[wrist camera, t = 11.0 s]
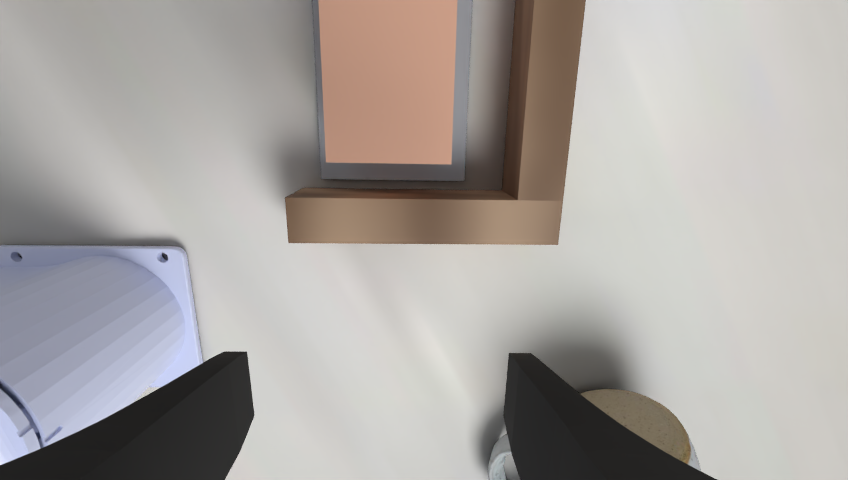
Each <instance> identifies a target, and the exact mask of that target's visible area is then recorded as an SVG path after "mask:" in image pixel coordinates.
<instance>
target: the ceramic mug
mask: <svg viewBox="0 0 848 480" xmlns="http://www.w3.org/2000/svg"><path fill="white" fill-rule="evenodd" d="M580 394H581V395H582V396H583V397H585V398H586V399H587V400H589V401H590V402H591V403H592V404H594V405H595V406H596V407H598V408H599V409H600V410H602V411H603V412H605V413H606V414H607V415H609V416H610V417H612V418H613V419H614V420H616V421H617V422H619V423H620V424H621V425H623V426H624V427H626V428H627V429H629V430H630V431H632V432H634V433H635V434H637V435H638V436H640V437H642V438H643V439H645V440H646V441H648V442H650V443H651V444H653V445H654V446H656V447H658V448H659V449H661V450H663V451H664V452H666V453H668V454H670V455H671V456H673V457H675V458H677V459H679V460H680V461H682V462H684V463H686V464H688V465H690V466H692V467H694V468H695V469H697V470H699V471H701V469H700V465H699V461H698V458H697V455H696V452H695V449H694V447H693V445H692V443H691V440H690V438H689V436H688V434H687V432H686V430H685V429H684V427H683V426H682V424H681V423H680V421H679V420H678V419H677V417H676V416H675V415H674V414H673V413H672V412H670V411H669V410H668V409H667V408H666V407H664V406H663V405H661V404H660V403H658V402H656V401H654V400H652V399H650V398H648V397H646V396H643V395H641V394H638V393H634V392H631V391H625V390H617V389H599V390H592V391H587V392H583V393H580ZM509 454H511V449H510V444H509V440H508V435H507V434H506V435H504V436H502V437H501V438H500V439H499V440H498V441H497V442H496V444H495V445H494V448H493V450H492V453H491V457H490V461H489V465H488V478H489V480H507V479H506V476H505V471H504V467H503V464H504V462H505V456H506V455H509Z"/></svg>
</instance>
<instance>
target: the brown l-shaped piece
mask: <svg viewBox="0 0 848 480" xmlns="http://www.w3.org/2000/svg"><path fill="white" fill-rule="evenodd" d="M585 1H586V0H515V13H514V27H513V41H512V55H511V69H510V83H509V97H508V111H507V126H506V140H505V154H504V168H503V182H502V190H434V189H354V188H302V189H300V190H298V191H296V192H295V193H293V194H291V195H289V196H287V197H285V203H286V216H287V229H288V242H289V243H372V244H525V245H558V240H559V231H560V222H561V213H562V204H563V195H564V187H565V178H566V169H567V160H568V151H569V143H570V134H571V125H572V116H573V107H574V98H575V90H576V81H577V72H578V63H579V54H580V46H581V37H582V28H583V19H584V10H585Z"/></svg>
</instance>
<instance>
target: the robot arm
mask: <svg viewBox="0 0 848 480" xmlns="http://www.w3.org/2000/svg"><path fill="white" fill-rule="evenodd" d="M18 253H19V254H21V256H22V258H20V257H19V255H18ZM162 253H165V254H166V255H167V256H168V260H165V259H164V258H163V257H162ZM148 387H161V388H159V389H157V390H156V391H154V392H152V393H150V394H149V395H147V396H145V397H143V398H141V399H139V400H137V401H136V402H134V401H135V400H136V399H137V398H138V397H139V396H140V395H141V394H142V393H143V392H144V391H145V390H146V389H147V388H148ZM133 402H134V403H133ZM253 417H254V409H253V400H252V391H251V383H250V374H249V366H248V357H247V352H223V353H221V354H218V355H216V356H215V357H213V358H211V359H209V360H207V361H205V362H204V363H203V360H202V354H201V347H200V340H199V333H198V327H197V320H196V313H195V307H194V300H193V293H192V286H191V280H190V273H189V266H188V260H187V255H186V252H185V251H184V250H183V249H182V248H180V247H177V246H56V245H0V480H225V478H226V476H227V474H228V473H229V471H230V469H231V467H232V465H233V463H234V462H235V460H236V458H237V456H238V454H239V452H240V450H241V448H242V445H243V443H244V440H245V438H246V436H247V433H248V430H249V428H250V425H251V423H252V420H253ZM504 420H505V425H506V430H507V435H508V440H509V444H510V449H511V453H512V456H513V459H514V462H515V465H516V468H517V471H518V474H519V477H520V480H717V479H714V478H712V477H710V476H709V475H707V474H705V473H703V472H701V471H699V470H697V469H695V468H694V467H692V466H690V465H688V464H686V463H684V462H682V461H680V460H679V459H677V458H675V457H673V456H671V455H670V454H668V453H666V452H664V451H663V450H661V449H659V448H658V447H656V446H654V445H653V444H651V443H650V442H648V441H646V440H645V439H643V438H642V437H640V436H638V435H637V434H635V433H634V432H632V431H630V430H629V429H627V428H626V427H624V426H623V425H621V424H620V423H619V422H617V421H616V420H614V419H613V418H612V417H610V416H609V415H607V414H606V413H605V412H603V411H602V410H600V409H599V408H598V407H596V406H595V405H594V404H592V403H591V402H590V401H589V400H587V399H586V398H585V397H583V396H582V395H581V394H580V393H578V392H577V391H576V390H575V389H573V388H572V387H571V386H570V385H569V384H567V383H566V382H565V381H564V380H562V379H561V378H560V377H559V376H558V375H557V374H555V373H554V372H553V371H552V370H551V369H549V368H548V367H547V366H546V365H545V364H544V363H542V362H541V361H540V360H539V359H538V358H536V357H535V356H534V355H532V354H531V353H509V359H508V371H507V382H506V394H505V405H504Z"/></svg>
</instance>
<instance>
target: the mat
mask: <svg viewBox="0 0 848 480" xmlns="http://www.w3.org/2000/svg"><path fill="white" fill-rule="evenodd" d="M472 2H473V0H457V27H456V53H455V80H454V107H453V134H452V161H451V164H392V163H330V162H326V153H325V132H324V110H323V89H322V67H321V45H320V24H319V2H318V0H312V8H313V28H314V48H315V67H316V87H317V107H318V126H319V146H320V165H321V179H359V180H433V181H464V178H465V156H466V134H467V112H468V90H469V68H470V46H471V24H472Z"/></svg>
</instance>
